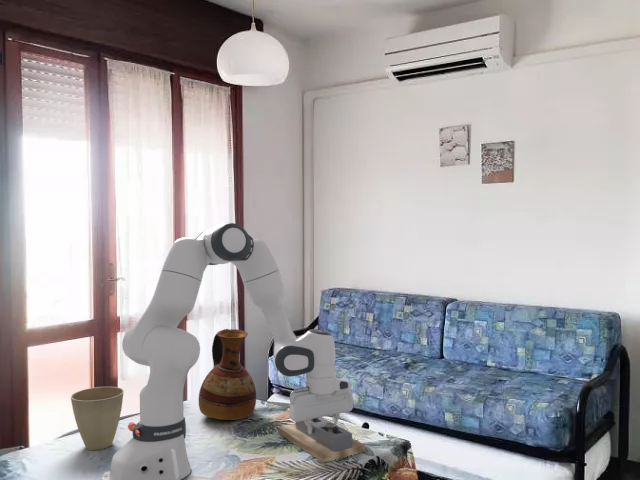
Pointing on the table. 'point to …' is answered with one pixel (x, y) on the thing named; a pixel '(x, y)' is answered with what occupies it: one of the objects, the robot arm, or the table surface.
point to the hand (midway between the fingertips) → (322, 430)
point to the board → (318, 444)
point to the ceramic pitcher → (227, 380)
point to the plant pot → (97, 415)
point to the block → (327, 434)
